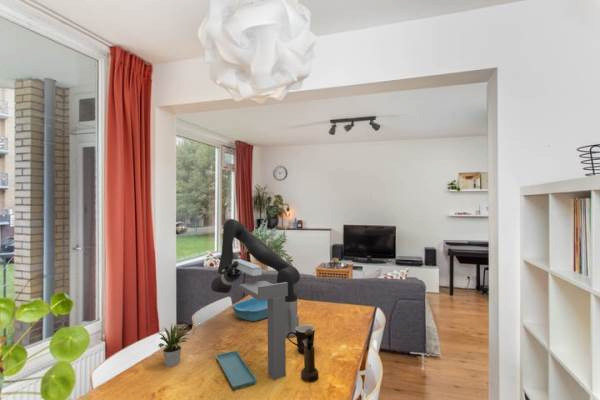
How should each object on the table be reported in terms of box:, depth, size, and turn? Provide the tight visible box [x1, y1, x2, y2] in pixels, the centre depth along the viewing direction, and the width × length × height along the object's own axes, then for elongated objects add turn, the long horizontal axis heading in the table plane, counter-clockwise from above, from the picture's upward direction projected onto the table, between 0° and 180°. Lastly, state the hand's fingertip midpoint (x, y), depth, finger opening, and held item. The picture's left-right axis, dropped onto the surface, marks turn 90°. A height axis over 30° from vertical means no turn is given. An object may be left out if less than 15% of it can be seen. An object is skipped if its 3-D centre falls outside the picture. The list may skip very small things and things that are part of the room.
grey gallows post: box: [238, 280, 288, 381], centre depth 128 cm, size 20×12×35 cm, turn 32°
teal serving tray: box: [215, 350, 258, 390], centre depth 125 cm, size 26×9×2 cm, turn 28°
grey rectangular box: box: [232, 258, 263, 277], centre depth 143 cm, size 24×4×3 cm, turn 32°
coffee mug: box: [286, 324, 316, 356], centre depth 142 cm, size 12×9×10 cm
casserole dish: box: [232, 297, 268, 322], centre depth 194 cm, size 37×22×7 cm, turn 144°
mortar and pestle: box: [300, 329, 319, 383], centre depth 120 cm, size 7×6×18 cm
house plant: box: [157, 322, 189, 368], centre depth 130 cm, size 14×14×16 cm
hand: (242, 262), depth 147 cm, fingers closed on grey rectangular box, 4 cm apart
